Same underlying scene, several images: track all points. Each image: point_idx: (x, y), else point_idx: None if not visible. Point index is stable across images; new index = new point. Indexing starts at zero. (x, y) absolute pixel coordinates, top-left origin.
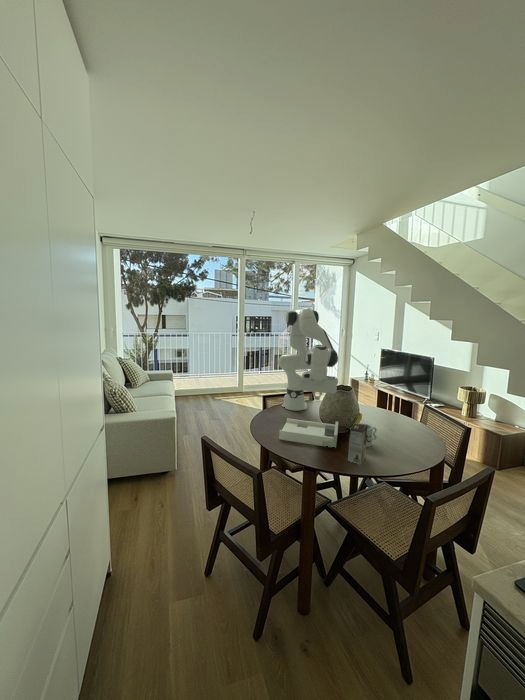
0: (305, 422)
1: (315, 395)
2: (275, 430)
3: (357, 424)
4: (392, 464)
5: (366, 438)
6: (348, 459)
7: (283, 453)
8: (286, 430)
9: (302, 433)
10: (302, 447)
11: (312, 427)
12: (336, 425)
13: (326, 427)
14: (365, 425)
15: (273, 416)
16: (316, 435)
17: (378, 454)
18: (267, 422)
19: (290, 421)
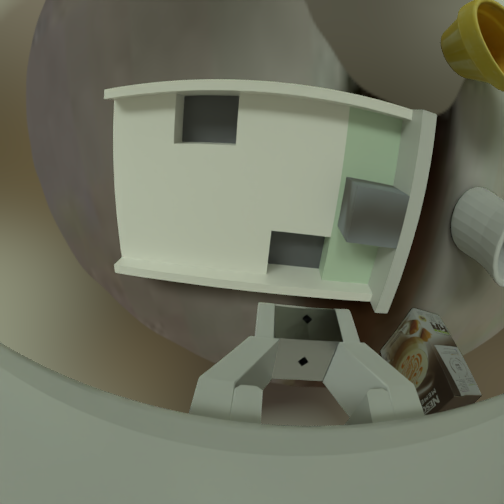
0: (218, 90)
1: (270, 354)
2: (95, 166)
3: (457, 401)
4: (477, 327)
5: (463, 360)
6: (382, 355)
7: (182, 346)
8: (136, 216)
9: (219, 283)
10: (235, 301)
11: (269, 126)
12: (419, 181)
13: (356, 229)
14: (478, 396)
15: (70, 17)
16: (291, 290)
17: (480, 285)
18: (54, 94)
19: (130, 96)
